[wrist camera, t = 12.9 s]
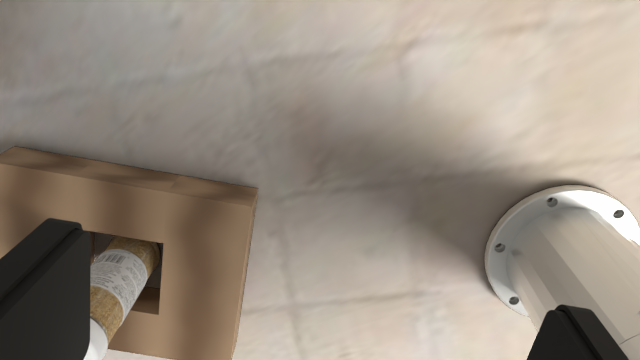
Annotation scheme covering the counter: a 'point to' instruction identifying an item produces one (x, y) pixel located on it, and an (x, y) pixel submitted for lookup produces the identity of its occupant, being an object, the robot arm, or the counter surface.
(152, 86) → the counter surface
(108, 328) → the sprinkles bottle
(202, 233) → the spice holder
